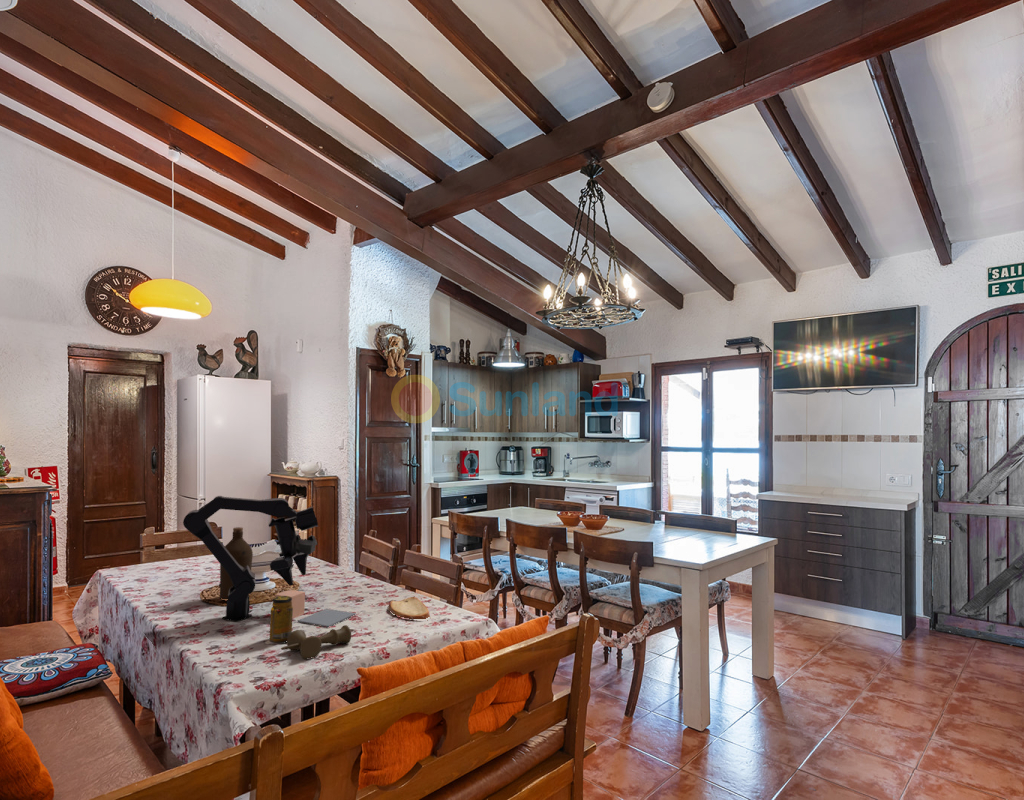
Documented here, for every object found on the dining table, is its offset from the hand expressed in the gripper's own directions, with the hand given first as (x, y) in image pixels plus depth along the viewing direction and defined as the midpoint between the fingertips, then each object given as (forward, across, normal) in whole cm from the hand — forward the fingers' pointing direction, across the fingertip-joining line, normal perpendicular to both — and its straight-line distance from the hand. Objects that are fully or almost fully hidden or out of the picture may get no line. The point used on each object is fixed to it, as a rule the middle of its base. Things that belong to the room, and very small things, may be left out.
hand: (297, 580), depth 196 cm
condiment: (+9, -26, -6) cm, 28 cm away
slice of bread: (+20, +6, -33) cm, 39 cm away
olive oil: (+5, +10, +31) cm, 33 cm away
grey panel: (+13, -5, -10) cm, 17 cm away
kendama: (+12, -32, -18) cm, 39 cm away
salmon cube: (+10, -5, +3) cm, 11 cm away
